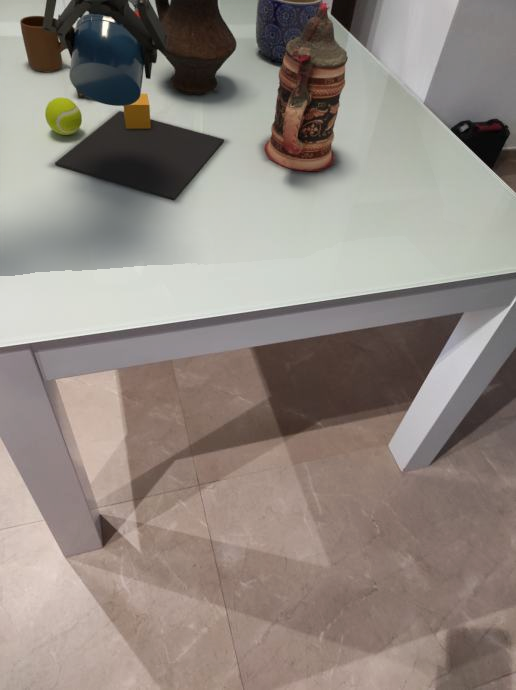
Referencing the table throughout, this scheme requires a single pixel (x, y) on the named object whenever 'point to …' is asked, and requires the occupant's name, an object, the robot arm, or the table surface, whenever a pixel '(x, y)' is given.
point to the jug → (195, 42)
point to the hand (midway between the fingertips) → (113, 65)
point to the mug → (41, 45)
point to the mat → (142, 155)
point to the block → (138, 114)
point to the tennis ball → (63, 116)
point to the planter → (282, 24)
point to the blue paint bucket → (106, 61)
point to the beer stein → (308, 97)
